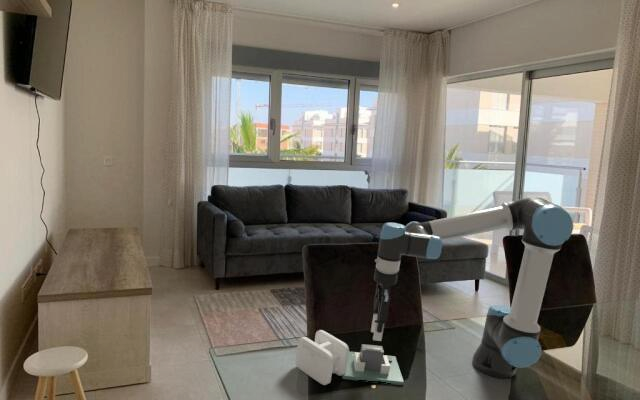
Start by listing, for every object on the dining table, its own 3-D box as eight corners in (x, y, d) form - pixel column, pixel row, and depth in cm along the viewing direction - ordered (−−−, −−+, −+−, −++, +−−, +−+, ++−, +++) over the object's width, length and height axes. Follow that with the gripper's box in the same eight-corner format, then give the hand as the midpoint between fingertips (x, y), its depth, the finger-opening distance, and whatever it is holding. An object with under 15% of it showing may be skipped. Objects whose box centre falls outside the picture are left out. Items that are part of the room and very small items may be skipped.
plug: (378, 364, 168) (382, 344, 167) (380, 371, 164) (384, 350, 163) (358, 362, 168) (362, 342, 166) (359, 369, 164) (363, 348, 163)
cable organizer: (347, 379, 160) (352, 346, 158) (324, 390, 152) (329, 356, 150) (315, 358, 170) (319, 327, 168) (292, 367, 163) (296, 335, 160)
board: (394, 359, 176) (396, 348, 175) (403, 385, 160) (405, 373, 159) (339, 353, 175) (341, 342, 174) (342, 378, 159) (344, 367, 158)
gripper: (371, 259, 168) (361, 322, 173) (379, 279, 150) (368, 348, 155) (393, 262, 168) (382, 324, 173) (403, 281, 151) (391, 350, 155)
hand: (375, 335), depth 164 cm, fingers open, 5 cm apart
